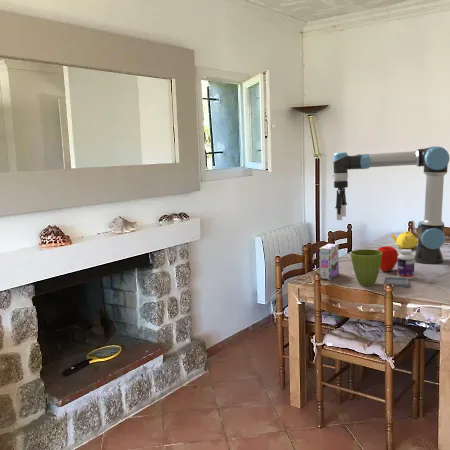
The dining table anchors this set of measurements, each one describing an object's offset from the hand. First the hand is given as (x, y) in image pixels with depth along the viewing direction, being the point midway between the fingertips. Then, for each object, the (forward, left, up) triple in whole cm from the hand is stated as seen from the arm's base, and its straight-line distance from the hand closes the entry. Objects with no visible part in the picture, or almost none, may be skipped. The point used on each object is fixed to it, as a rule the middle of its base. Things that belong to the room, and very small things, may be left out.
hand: (341, 218), depth 285 cm
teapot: (-37, -49, -27) cm, 67 cm away
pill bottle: (-33, +24, -27) cm, 49 cm away
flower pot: (-14, +38, -27) cm, 49 cm away
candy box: (+5, +25, -27) cm, 38 cm away
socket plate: (-28, +37, -27) cm, 54 cm away
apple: (-24, +10, -27) cm, 38 cm away
